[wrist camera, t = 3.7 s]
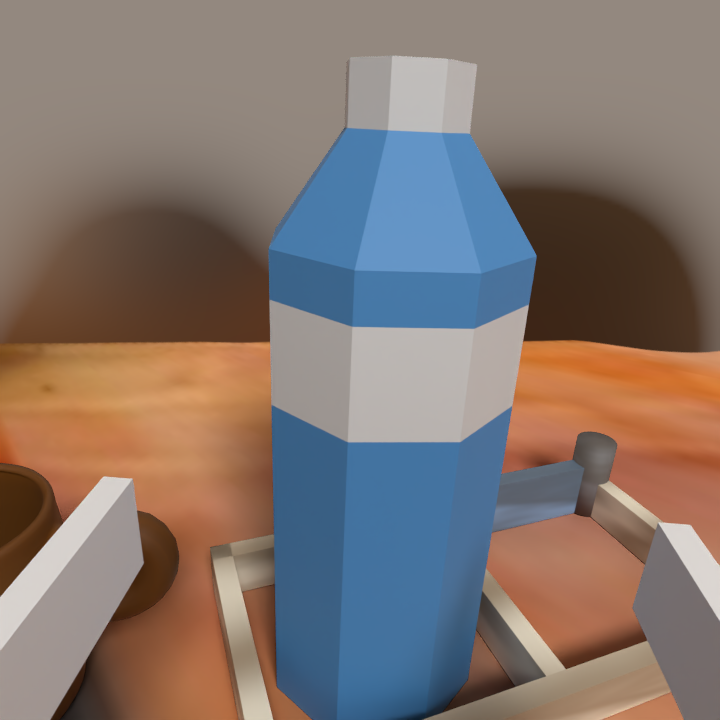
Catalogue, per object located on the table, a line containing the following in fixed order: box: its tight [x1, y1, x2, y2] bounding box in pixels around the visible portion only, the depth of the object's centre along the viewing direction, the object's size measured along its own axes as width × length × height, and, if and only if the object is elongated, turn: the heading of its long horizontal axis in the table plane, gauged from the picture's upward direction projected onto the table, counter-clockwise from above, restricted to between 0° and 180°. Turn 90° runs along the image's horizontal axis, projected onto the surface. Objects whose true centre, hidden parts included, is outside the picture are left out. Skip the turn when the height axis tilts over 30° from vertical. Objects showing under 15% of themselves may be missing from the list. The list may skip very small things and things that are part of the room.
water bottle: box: [269, 56, 537, 720], centre depth 23 cm, size 9×9×25 cm
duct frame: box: [210, 432, 720, 720], centre depth 29 cm, size 14×26×5 cm, turn 111°
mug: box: [0, 463, 179, 720], centre depth 23 cm, size 12×8×9 cm, turn 98°
